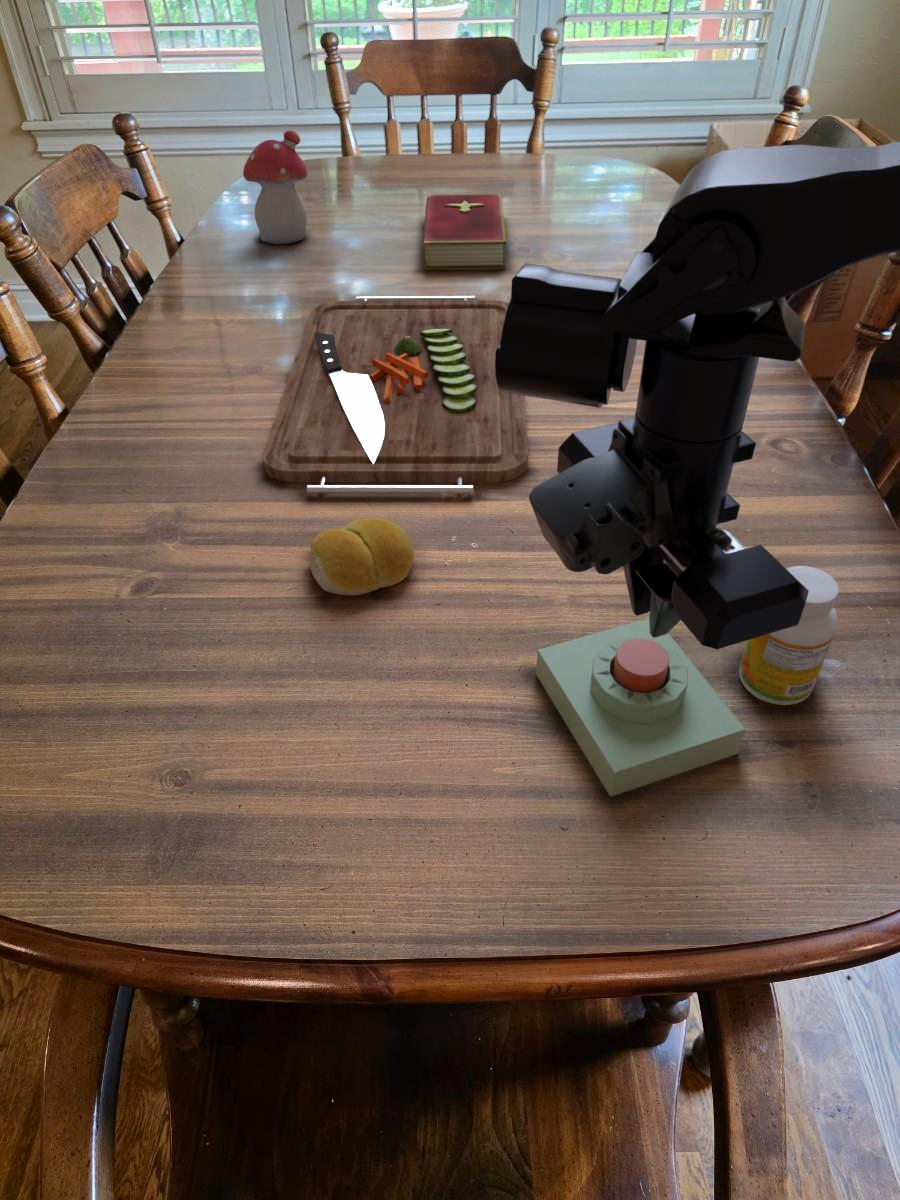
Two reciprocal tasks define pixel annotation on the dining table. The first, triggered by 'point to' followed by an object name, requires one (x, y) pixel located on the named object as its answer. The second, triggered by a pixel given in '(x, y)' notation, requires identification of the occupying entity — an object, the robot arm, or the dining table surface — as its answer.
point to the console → (636, 710)
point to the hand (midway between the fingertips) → (649, 623)
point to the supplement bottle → (793, 645)
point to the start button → (641, 665)
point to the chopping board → (398, 399)
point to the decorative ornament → (278, 189)
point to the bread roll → (361, 557)
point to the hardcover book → (464, 232)
